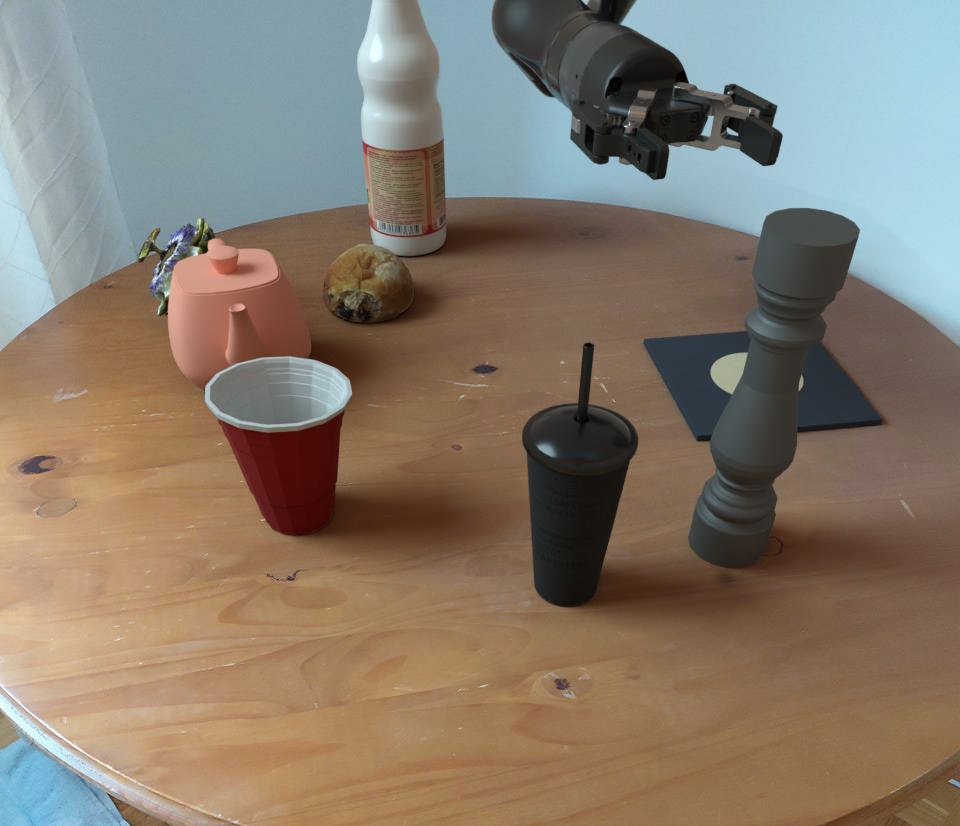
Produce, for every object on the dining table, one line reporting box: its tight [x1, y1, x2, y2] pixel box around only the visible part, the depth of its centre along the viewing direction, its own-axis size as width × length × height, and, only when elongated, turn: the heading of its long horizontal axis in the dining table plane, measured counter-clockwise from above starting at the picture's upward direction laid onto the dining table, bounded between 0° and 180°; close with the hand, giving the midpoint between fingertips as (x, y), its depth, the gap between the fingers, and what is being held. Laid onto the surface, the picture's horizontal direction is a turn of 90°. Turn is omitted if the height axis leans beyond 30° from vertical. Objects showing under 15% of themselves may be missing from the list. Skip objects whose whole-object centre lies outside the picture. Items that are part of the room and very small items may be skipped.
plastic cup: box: [204, 357, 353, 536], centre depth 70 cm, size 11×11×12 cm
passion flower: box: [137, 217, 216, 317], centre depth 96 cm, size 11×11×12 cm
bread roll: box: [322, 243, 415, 324], centre depth 98 cm, size 10×10×8 cm
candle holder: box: [687, 207, 861, 569], centre depth 63 cm, size 6×6×25 cm
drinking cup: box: [521, 341, 639, 607], centre depth 61 cm, size 8×8×20 cm
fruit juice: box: [356, 0, 447, 257], centre depth 101 cm, size 9×9×28 cm
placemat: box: [643, 330, 884, 442], centre depth 88 cm, size 18×18×1 cm
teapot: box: [167, 237, 312, 390], centre depth 85 cm, size 13×20×12 cm, turn 19°
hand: (719, 157), depth 60 cm, fingers open, 8 cm apart
